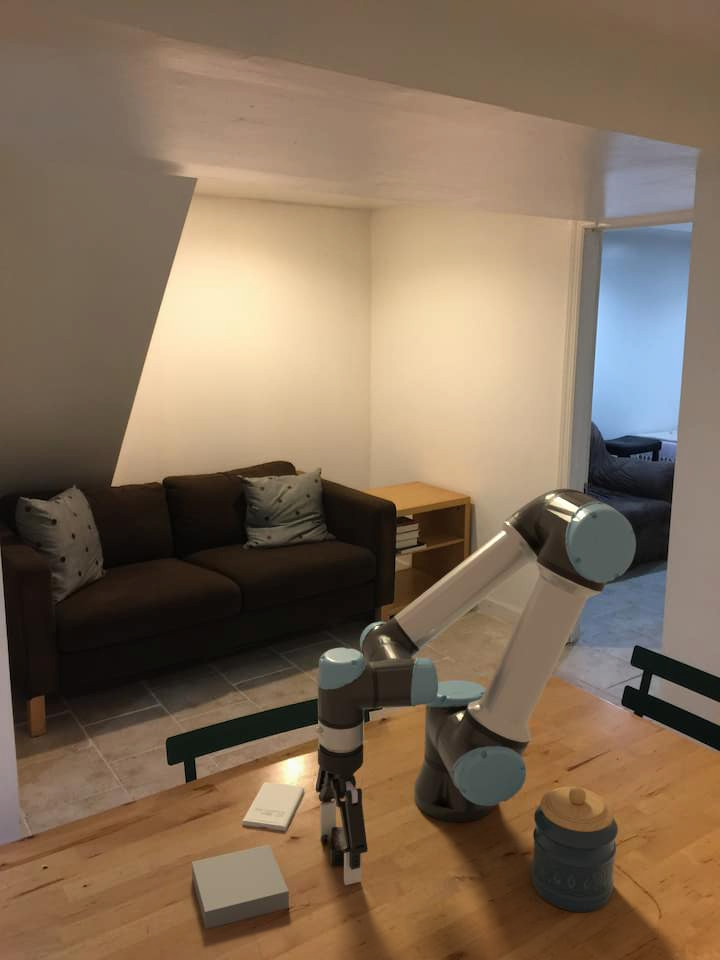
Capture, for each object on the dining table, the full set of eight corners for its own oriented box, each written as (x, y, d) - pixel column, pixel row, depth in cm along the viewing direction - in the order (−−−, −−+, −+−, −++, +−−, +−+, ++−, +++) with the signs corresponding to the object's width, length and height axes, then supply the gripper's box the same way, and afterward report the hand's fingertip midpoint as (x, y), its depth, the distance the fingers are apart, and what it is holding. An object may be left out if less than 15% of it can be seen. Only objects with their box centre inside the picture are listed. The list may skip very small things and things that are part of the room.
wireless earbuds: (347, 840, 144) (347, 824, 144) (346, 867, 137) (347, 850, 137) (321, 840, 144) (321, 823, 144) (319, 867, 137) (319, 850, 137)
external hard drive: (304, 794, 159) (285, 833, 147) (263, 789, 160) (242, 827, 149) (304, 786, 159) (285, 825, 147) (263, 781, 160) (241, 819, 148)
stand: (269, 859, 139) (269, 844, 139) (288, 907, 128) (288, 890, 128) (192, 877, 135) (191, 861, 134) (205, 929, 124) (205, 911, 123)
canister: (599, 926, 125) (607, 823, 121) (518, 894, 132) (524, 795, 128) (621, 877, 136) (630, 781, 132) (546, 849, 142) (552, 757, 139)
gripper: (297, 712, 145) (298, 821, 149) (343, 786, 123) (342, 911, 127) (338, 705, 147) (337, 812, 152) (390, 776, 125) (387, 900, 130)
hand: (339, 858), depth 139 cm, fingers open, 12 cm apart
